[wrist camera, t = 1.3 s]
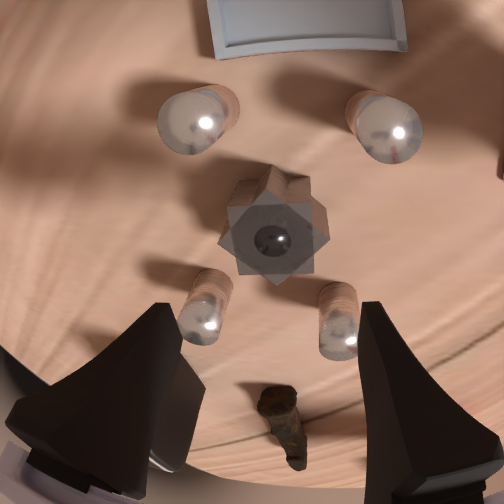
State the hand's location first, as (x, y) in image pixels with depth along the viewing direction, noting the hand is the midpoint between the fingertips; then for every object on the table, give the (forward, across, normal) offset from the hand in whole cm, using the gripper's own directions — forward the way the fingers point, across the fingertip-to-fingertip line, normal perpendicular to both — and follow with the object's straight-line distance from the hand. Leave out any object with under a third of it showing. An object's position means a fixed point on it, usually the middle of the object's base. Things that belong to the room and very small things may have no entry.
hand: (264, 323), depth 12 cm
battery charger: (+11, +12, +18) cm, 25 cm away
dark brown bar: (+11, 0, +29) cm, 31 cm away
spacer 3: (+10, -4, +8) cm, 14 cm away
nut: (+11, 0, 0) cm, 11 cm away
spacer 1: (+10, +3, -6) cm, 13 cm away
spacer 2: (+11, +6, +6) cm, 14 cm away
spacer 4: (+10, -6, -6) cm, 13 cm away
